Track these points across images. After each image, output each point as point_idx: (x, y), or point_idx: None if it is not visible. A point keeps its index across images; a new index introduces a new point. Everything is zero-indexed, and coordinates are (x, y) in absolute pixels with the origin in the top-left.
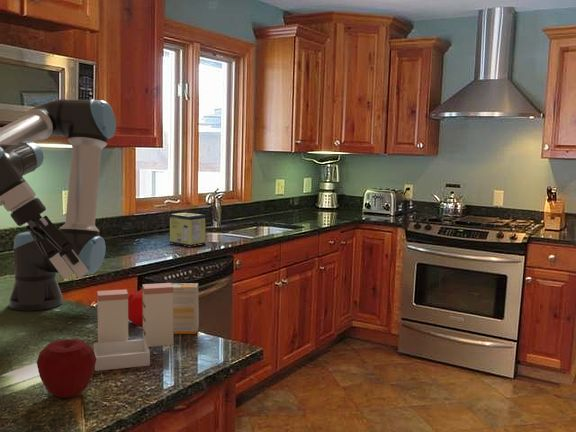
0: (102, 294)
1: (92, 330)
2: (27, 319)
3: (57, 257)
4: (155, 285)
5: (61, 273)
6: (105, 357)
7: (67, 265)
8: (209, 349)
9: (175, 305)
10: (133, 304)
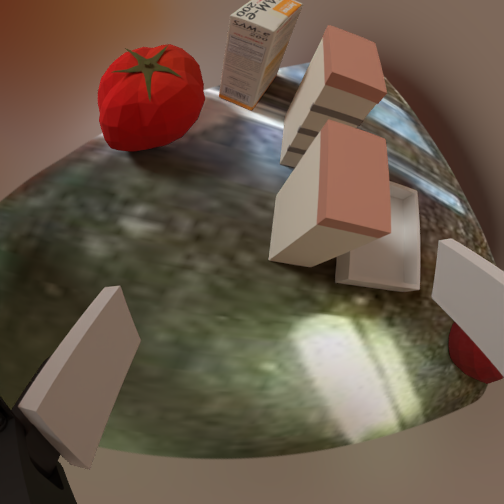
0: (380, 213)
1: (139, 249)
2: (5, 375)
3: (68, 413)
4: (353, 57)
5: (126, 364)
6: (419, 269)
7: (95, 325)
8: None
9: (273, 55)
10: (168, 118)
